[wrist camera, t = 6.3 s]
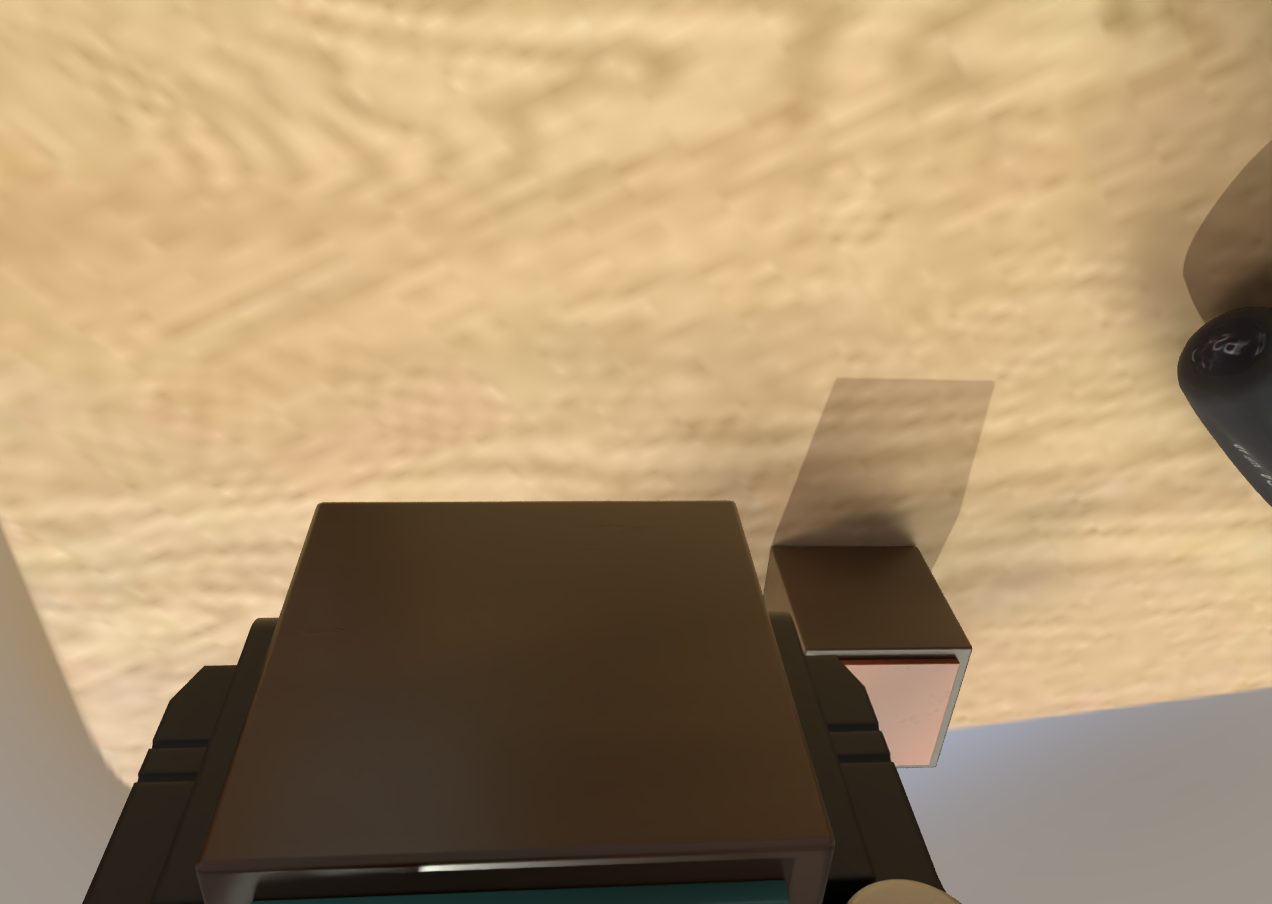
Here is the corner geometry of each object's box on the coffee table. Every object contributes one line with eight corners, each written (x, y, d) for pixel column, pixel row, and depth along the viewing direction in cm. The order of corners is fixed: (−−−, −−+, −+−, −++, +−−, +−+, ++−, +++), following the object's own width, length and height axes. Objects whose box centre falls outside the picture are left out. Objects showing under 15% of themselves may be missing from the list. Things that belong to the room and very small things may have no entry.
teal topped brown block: (736, 497, 11) (846, 868, 7) (703, 780, 13) (771, 1181, 9) (315, 499, 11) (179, 895, 7) (356, 791, 13) (273, 1215, 9)
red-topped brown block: (917, 546, 30) (976, 652, 26) (888, 659, 33) (939, 773, 29) (770, 546, 30) (807, 655, 26) (752, 660, 32) (783, 777, 28)
